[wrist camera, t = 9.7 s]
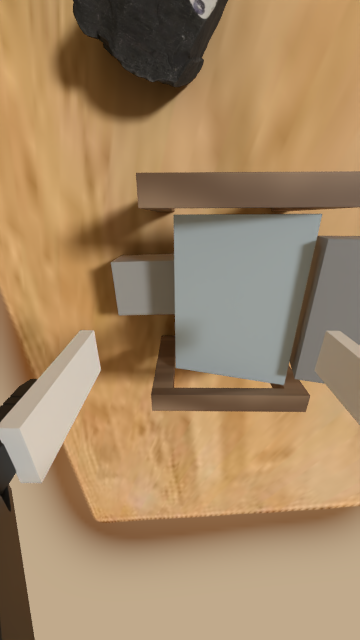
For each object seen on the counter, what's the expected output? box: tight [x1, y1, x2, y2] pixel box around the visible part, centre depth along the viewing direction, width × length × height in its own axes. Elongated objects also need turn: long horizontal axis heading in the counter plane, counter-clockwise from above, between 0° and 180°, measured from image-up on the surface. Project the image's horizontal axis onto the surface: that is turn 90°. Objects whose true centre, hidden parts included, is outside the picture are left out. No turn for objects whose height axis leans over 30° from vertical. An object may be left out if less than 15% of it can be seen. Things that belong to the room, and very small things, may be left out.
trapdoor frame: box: [136, 172, 360, 412], centre depth 24 cm, size 20×15×12 cm
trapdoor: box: [174, 214, 360, 385], centre depth 21 cm, size 15×16×3 cm
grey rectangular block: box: [111, 254, 175, 315], centre depth 28 cm, size 6×5×8 cm
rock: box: [73, 0, 228, 87], centre depth 18 cm, size 10×9×6 cm
